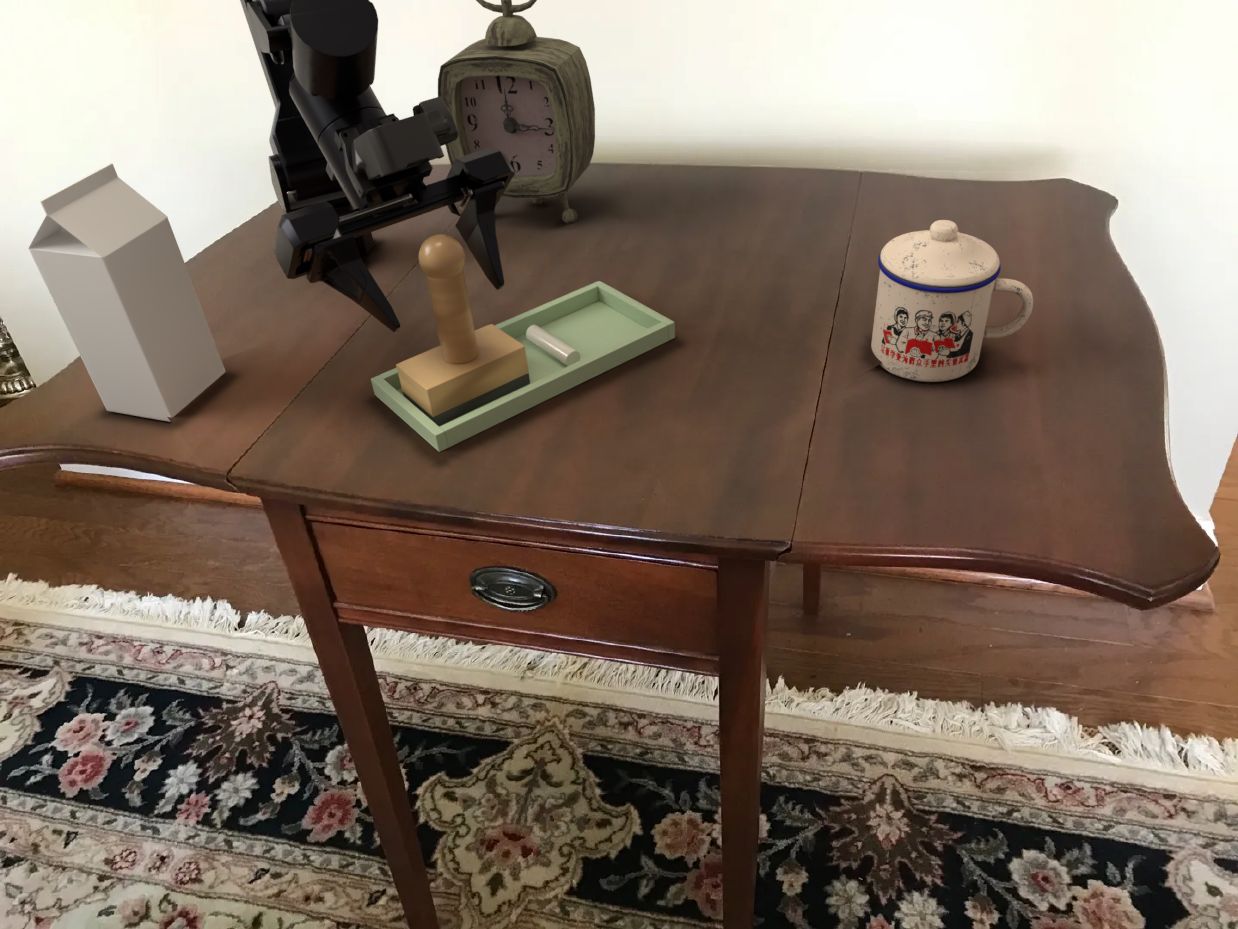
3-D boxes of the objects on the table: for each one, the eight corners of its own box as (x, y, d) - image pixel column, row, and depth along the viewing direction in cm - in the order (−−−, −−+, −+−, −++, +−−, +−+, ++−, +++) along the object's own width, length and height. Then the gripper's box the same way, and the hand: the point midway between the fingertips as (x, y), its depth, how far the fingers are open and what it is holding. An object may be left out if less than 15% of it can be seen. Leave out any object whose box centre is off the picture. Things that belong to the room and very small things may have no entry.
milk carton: (229, 378, 84) (149, 166, 72) (175, 425, 79) (79, 204, 67) (163, 368, 86) (75, 160, 74) (107, 413, 81) (2, 197, 69)
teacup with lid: (863, 379, 77) (879, 246, 70) (871, 323, 84) (886, 196, 77) (1021, 395, 75) (1054, 257, 67) (1016, 335, 81) (1046, 204, 74)
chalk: (582, 351, 80) (569, 350, 79) (577, 368, 81) (563, 366, 80) (541, 325, 84) (528, 323, 83) (536, 341, 84) (523, 339, 83)
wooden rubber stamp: (435, 428, 75) (399, 268, 66) (404, 401, 78) (366, 245, 69) (530, 383, 79) (508, 227, 70) (497, 359, 82) (472, 207, 73)
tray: (440, 459, 73) (435, 435, 71) (376, 401, 79) (370, 378, 78) (675, 344, 84) (674, 321, 82) (601, 302, 90) (599, 280, 89)
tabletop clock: (458, 223, 106) (414, -25, 91) (489, 190, 113) (454, -46, 97) (581, 232, 102) (558, -25, 87) (606, 198, 109) (589, -47, 94)
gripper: (240, 101, 62) (356, 311, 62) (483, 37, 71) (586, 221, 71) (234, 185, 72) (333, 367, 72) (448, 120, 81) (537, 282, 80)
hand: (450, 307), depth 73 cm, fingers open, 9 cm apart
